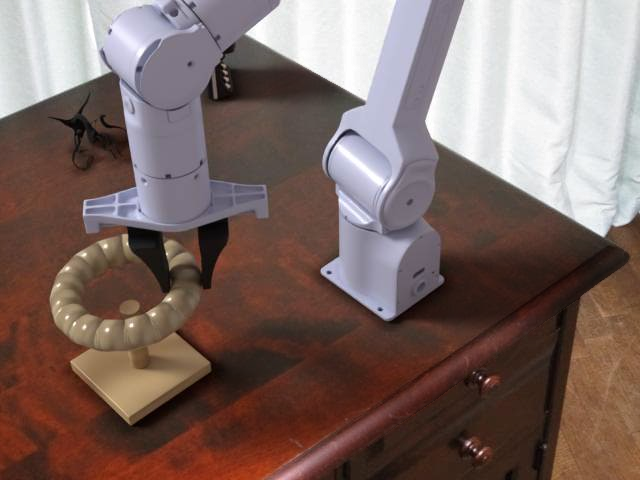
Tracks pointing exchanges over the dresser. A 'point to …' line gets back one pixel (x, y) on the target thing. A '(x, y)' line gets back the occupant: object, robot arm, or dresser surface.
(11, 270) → the dresser surface
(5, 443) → the dresser surface
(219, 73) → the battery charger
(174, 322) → the segmented beige ring
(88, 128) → the creature
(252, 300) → the dresser surface
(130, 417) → the stand
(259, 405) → the dresser surface
